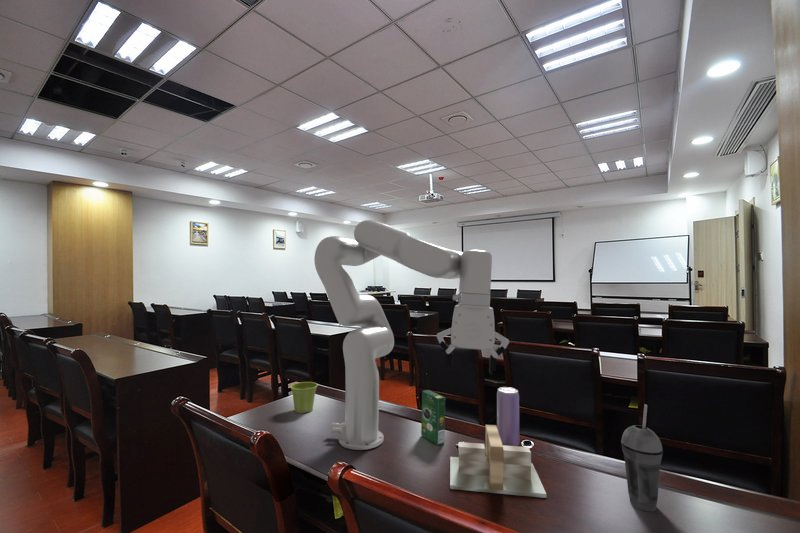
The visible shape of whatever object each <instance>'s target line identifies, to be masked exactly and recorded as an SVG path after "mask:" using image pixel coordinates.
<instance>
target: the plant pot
mask: <svg viewBox="0 0 800 533" xmlns="http://www.w3.org/2000/svg"><path fill="white" fill-rule="evenodd" d="M318 386H319V384H318V383H316V382H313V381H301V382H296V383H293V384H291V385H290V386H289V388H290V389H291V393H292V398H293V407H294V412H295V413H297V414H305V413H310V412H312V411H313V410H314V403H315V396H316V391H317V388H318Z"/></svg>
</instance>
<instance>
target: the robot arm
mask: <svg viewBox="0 0 800 533" xmlns="http://www.w3.org/2000/svg"><path fill="white" fill-rule="evenodd" d="M380 256H382V257H384V258H385V257H386V258H388V259H389V260H393V261H395V262H396V263H398V264H400V265H402V266H403V267H407V268H409V269H410V270H413V271H415V272H418V273H421V274H423V275H425V276H428V277H431V278H435V279H443V280H444V279H447V280H451V279H452V280H455V279H459V281H458V282H459V284H458V285H459V286H458V287H459V288H458V293H457V294H452V301H456V302H458V304H456V305H454V309H453V315H452V319H451V320H452V322H451V327H449V328H448V329H445V330H442V331H440V332H437V334H436V339H437V342H438V343H439V345H440V347H441V348H442V349H443V351H444V352H445V353H446V363H445V364H446V365H445V366H446V367H448V371H450V372H451V371H453V363H454V362H453V359H454V358H453V357H454V353H453V351H454V350H455V349H456V348H459V349H466V350H467V349H468V350H480V351H488V352H489V354H490V356H489V362H488V373H489V375H490V376H493V375H494V372H496V370H497V359H498V357H499V356H500V355H502V354H503V352H505V350H506V349H507V347H508V345H509V344H510V340H509V338H506V337H505V336H503V335H502V334H500V333H499V332H496V330H495V315H494V308H493V307H491V288H492V287H491V285H492V269H493V268H492V266H493V255H492V253H491V252H490V251H487V250H483V249H466V250H464V251H457V250H454V249H449V248H446V247H443V246H442V247H441V246H438V245H435V244H433V243H429V242H426V241H424V240H420V239H418V238H415V237H413V236H411V233H410V232H408V231H404V230H402V229H398V228H395V227H393V226H390V225H388V224H387V223H382V222H379V221H376V220H372V219H366V220H362V221H360V222H359V223H358V224H357V225H356V226H355V228H354V230H353V238H349V237H343V236H338V235H337V236H336V235H333V236H332V235H331V236H327V237H323V239H321V240H320V242H319V243H318V245H317V246H316V248H315V251H314V258H313V260H314V261H313V262H314V266H315V267H314V268H315V270H316V273H317V275H318V277H319V279H320V282H321V283H322V286H323V287H324V289H325V291H326V292H325V293H326V295H327V298H328V301H329V302H330V305H331V308H332V311H333V313H334V316H335V318H336V320H337V322H338V323H339V324H340V325H341V326H343V327H347V328H349V327H350V328H351V327H356V326H360V327H359V328H355V329H353V330H351V331H349V332H348V334H346V336H345V338H344V339H343V342H342V351H343V359H344V366H345V395H344V396H345V397H344V399H345V401H344V422H343V421H342V422H341V423H338V422H330V423H331V424H330V430H331V432H332V433H334V434H336V433H339V434H340V435H339V437H338V443H339V444H340V445H341V446H342V447H343V448H345V449H348V450H353V451H354V450H355V451H363V450H364V451H365V450H371V449H374V448H377V447H379V446H380V445H382V444H383V443H384V438H385V436H384V434H383V432H381V431H380V430H379V418H380V417H379V413H380V412H379V408H380V407H379V406H380V405H379V404H380V376H379V375H380V373H379V370H378V367H377V363H376V359H379V358H382V357H385V356H387V355H389V354H390V353H391V352H392V350H393V348H394V346H395V337H394V333H393V330H392V328H391V325H390V324H389V321H388V319H387V317H386V314H385V311H384V309H383V308H382V305H381V303H380V302H379V301H378V299H377V298H376V297H374V296H372V295H370V294H365V293H363V294H361V293H359V292H358V290H357V289H356V287H355V285H354V282H353V279H352V278H351V276H350V275H349V273H348V272H347V271H346V270H345V269H344V267H343V266H351V267H358V266H362V265H365V264H367V263H368V262H371V261H372V260H374V259H377V258H379V257H380ZM447 336H450V344H449V345H448V344H447V343H446V341H445V340H444V337H447ZM495 339H497V340H498V341H500V345H499V346H498V347H496V349H495V348H494V347H495Z"/></svg>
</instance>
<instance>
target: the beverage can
mask: <svg viewBox="0 0 800 533" xmlns="http://www.w3.org/2000/svg"><path fill="white" fill-rule="evenodd" d="M496 426H497V429H498V432H499V436H500V439H501V442H502V445H506V446H519V445H520V394H519V390H518V389H516V388H514V387H509V386H508V387H507V386H502V387H499V388H497V392H496Z"/></svg>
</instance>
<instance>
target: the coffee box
mask: <svg viewBox="0 0 800 533" xmlns="http://www.w3.org/2000/svg"><path fill="white" fill-rule="evenodd" d="M445 426H446V397H445V396H443V395H441V394H438V393H437V392H434V391H432V390H430V389H426V390H422V391H421V431H420V432H421V433H420V434H421V437H423V438H424V439H426V440H428V441H430V442H431V443H432V444H434V445H436V446H441V445H445Z"/></svg>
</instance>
